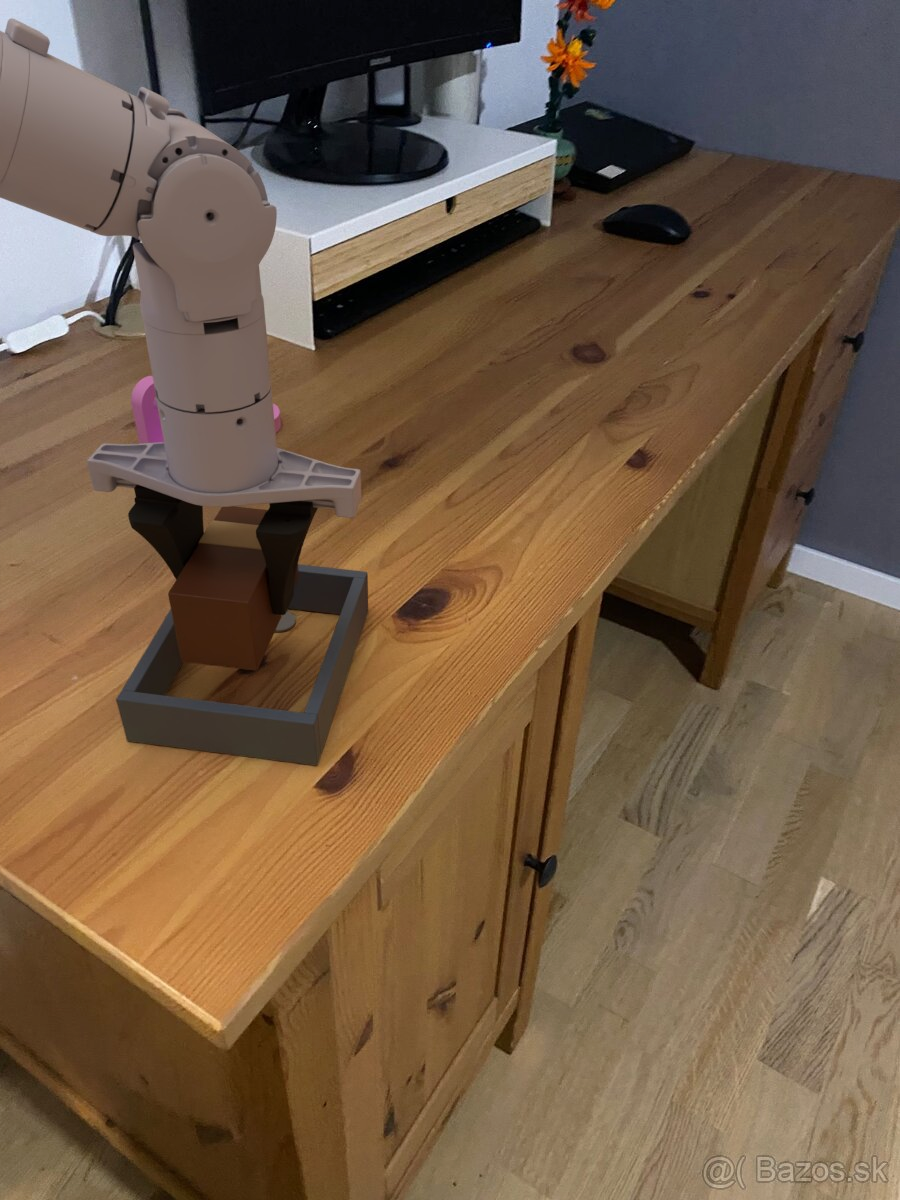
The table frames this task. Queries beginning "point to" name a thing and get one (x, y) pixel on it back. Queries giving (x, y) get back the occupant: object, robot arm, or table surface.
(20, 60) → the robot arm
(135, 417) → the bracket
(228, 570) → the brown tan banded block
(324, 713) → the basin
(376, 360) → the table surface
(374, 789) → the table surface
